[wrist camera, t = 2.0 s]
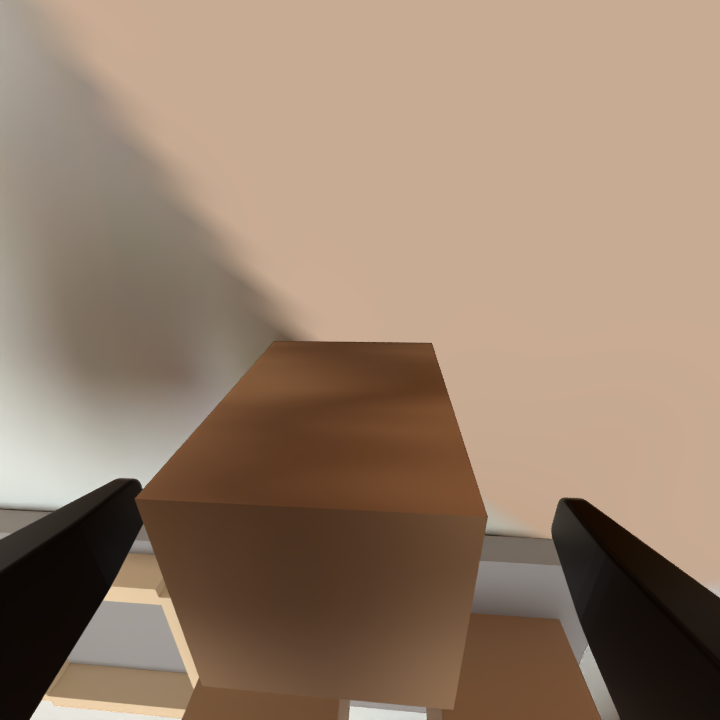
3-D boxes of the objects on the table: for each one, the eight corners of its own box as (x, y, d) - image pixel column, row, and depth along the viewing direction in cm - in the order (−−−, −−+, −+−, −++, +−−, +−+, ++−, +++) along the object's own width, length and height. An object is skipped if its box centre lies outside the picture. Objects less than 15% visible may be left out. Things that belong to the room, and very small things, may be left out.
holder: (600, 541, 12) (845, 923, 6) (544, 695, 16) (649, 1023, 9) (-6, 509, 14) (-351, 769, 7) (79, 654, 18) (-97, 906, 11)
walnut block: (431, 342, 10) (487, 516, 4) (422, 469, 11) (453, 709, 6) (274, 341, 10) (134, 498, 4) (289, 464, 12) (202, 686, 6)
